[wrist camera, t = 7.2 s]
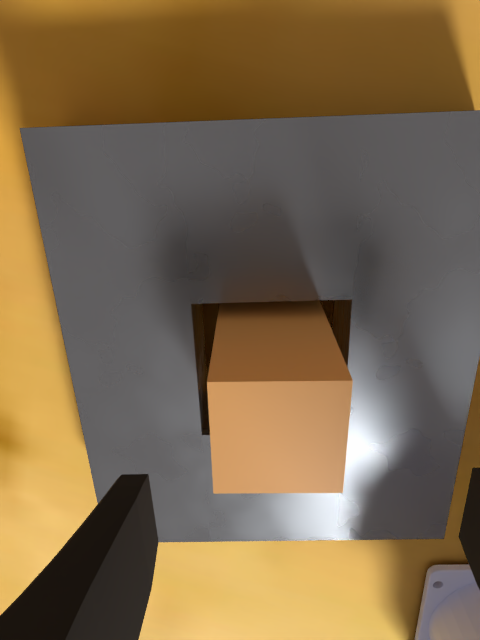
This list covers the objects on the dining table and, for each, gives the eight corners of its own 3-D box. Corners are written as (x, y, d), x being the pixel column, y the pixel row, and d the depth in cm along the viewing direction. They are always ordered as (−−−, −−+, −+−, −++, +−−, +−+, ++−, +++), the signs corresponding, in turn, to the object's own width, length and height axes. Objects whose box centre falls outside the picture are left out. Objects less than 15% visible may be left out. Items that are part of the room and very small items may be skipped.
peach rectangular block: (310, 368, 19) (342, 493, 12) (225, 369, 19) (213, 493, 13) (314, 287, 18) (352, 380, 11) (222, 289, 18) (206, 382, 11)
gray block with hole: (418, 485, 21) (443, 538, 18) (124, 489, 22) (106, 542, 19) (476, 112, 15) (528, 108, 12) (60, 128, 15) (19, 128, 13)
